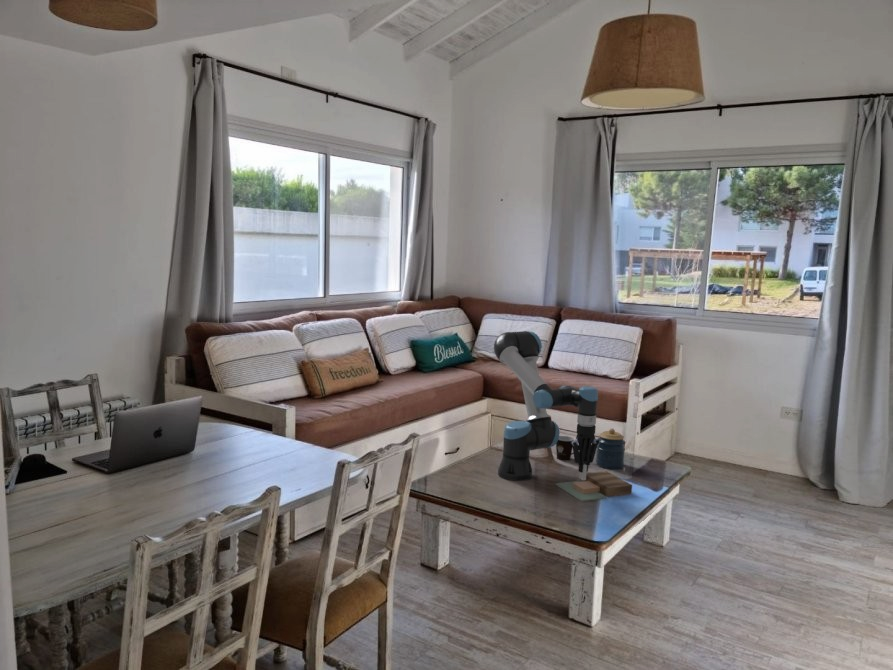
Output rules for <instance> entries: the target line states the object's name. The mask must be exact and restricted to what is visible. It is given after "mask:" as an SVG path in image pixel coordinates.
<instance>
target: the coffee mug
mask: <svg viewBox="0 0 893 670" xmlns="http://www.w3.org/2000/svg"><path fill="white" fill-rule="evenodd" d="M574 440H575V439H574V437H572V436H568V435H567V436H566V435H559V439H558V441H557V443H556V444H555V448H556V449H555V450H556V459H557V460H558V459H559V461H562V460H568V461H570V460H571V458H572V455H574V453H573V446H572V444H571V441H574ZM578 449H579V444H578Z"/></svg>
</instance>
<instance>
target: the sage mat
mask: <svg viewBox="0 0 893 670" xmlns="http://www.w3.org/2000/svg"><path fill="white" fill-rule="evenodd" d="M574 482H582V480H575V481H573V480H572V481H565V482H556V483H555V486H557V487H558V488H560V489H562V490H563V491H564V492H566V493H568V494H570V495H571V496H572V497H574V498H576V499H577V500H578V501H580V502H588V501H595V500H596V501H597V500H605V499H607V498H608V497H606V496H604V495H603V494H601V493H599V492H594V493H586V494H583V493H581V492H579V491H578V490H576V489H575V488H573V483H574Z"/></svg>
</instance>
